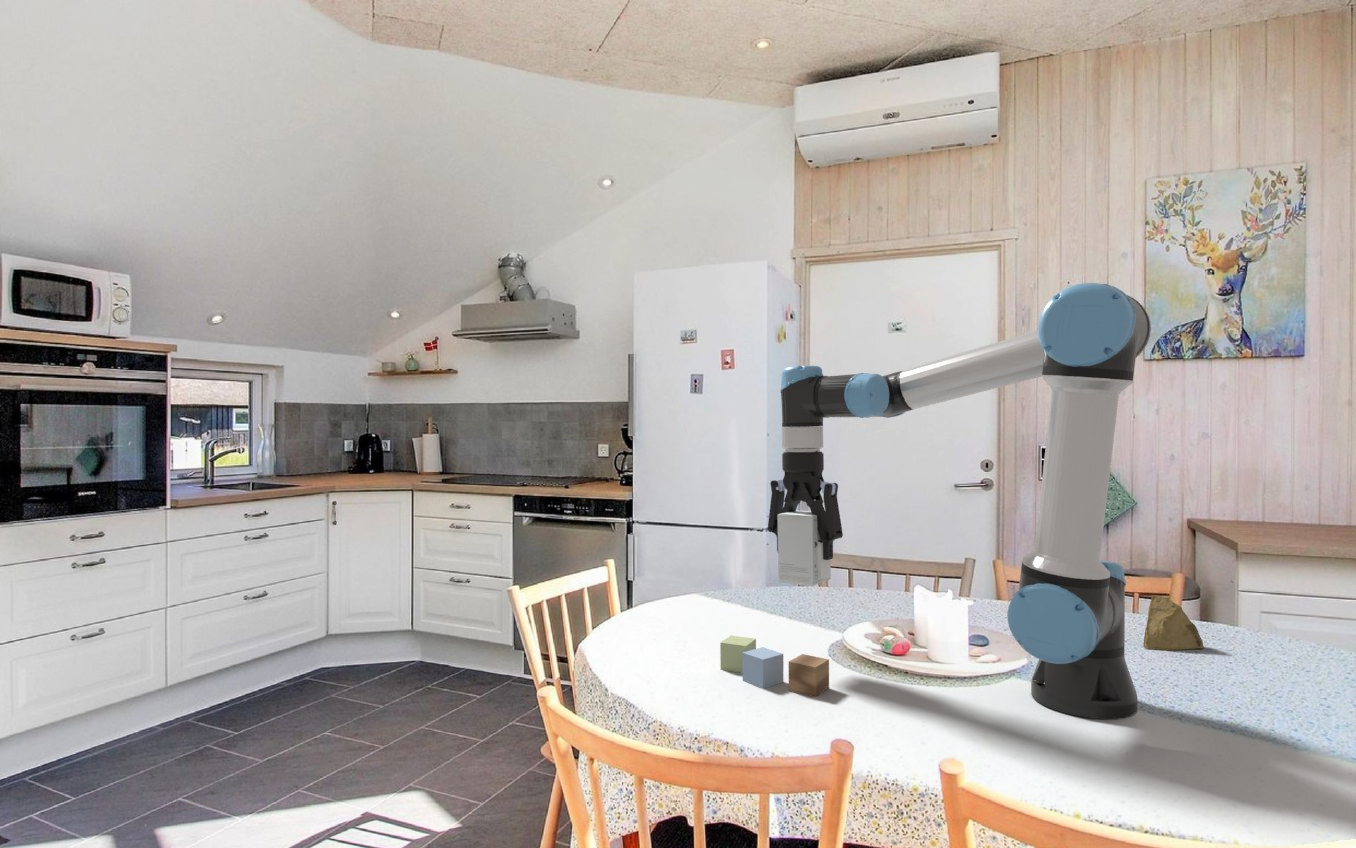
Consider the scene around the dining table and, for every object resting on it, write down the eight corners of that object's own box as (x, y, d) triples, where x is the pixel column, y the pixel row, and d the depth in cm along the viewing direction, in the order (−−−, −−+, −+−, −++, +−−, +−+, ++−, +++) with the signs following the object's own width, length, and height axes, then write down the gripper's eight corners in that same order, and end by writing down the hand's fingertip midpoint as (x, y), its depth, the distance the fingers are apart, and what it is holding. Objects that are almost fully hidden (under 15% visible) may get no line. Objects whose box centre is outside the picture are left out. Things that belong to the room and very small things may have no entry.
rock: (1206, 632, 154) (1149, 618, 160) (1211, 604, 149) (1152, 591, 155) (1199, 675, 148) (1139, 659, 154) (1204, 648, 143) (1142, 632, 149)
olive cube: (756, 665, 143) (755, 638, 143) (746, 673, 138) (745, 646, 138) (731, 662, 145) (730, 635, 145) (720, 669, 140) (720, 642, 140)
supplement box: (813, 587, 136) (812, 515, 136) (777, 582, 141) (775, 513, 141) (832, 580, 142) (831, 511, 142) (796, 575, 147) (795, 509, 147)
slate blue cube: (783, 682, 134) (783, 653, 134) (762, 689, 131) (762, 659, 130) (763, 675, 138) (762, 647, 137) (742, 681, 134) (742, 652, 134)
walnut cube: (829, 688, 130) (829, 659, 130) (815, 697, 126) (815, 667, 126) (802, 682, 133) (802, 654, 133) (788, 691, 129) (788, 661, 129)
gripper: (862, 450, 136) (864, 579, 137) (772, 448, 152) (773, 564, 152) (838, 452, 131) (840, 585, 131) (746, 450, 146) (748, 569, 146)
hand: (804, 574), depth 142 cm, fingers closed on supplement box, 8 cm apart
